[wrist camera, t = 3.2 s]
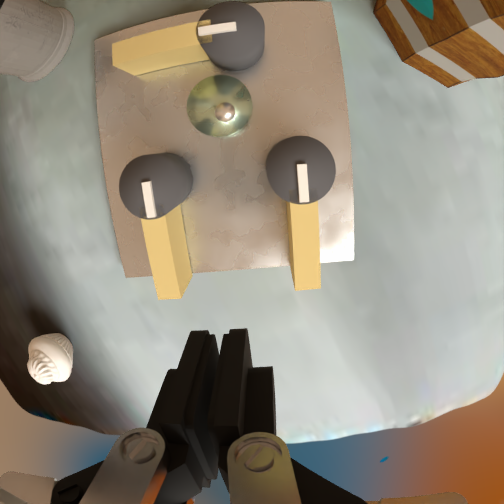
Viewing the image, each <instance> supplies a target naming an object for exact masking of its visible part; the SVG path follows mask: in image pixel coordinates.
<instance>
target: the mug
mask: <svg viewBox="0 0 504 504" xmlns="http://www.w3.org/2000/svg"><path fill="white" fill-rule="evenodd" d="M374 15H375V16H376V18H377V19H378V21H379V23H380V24H381V26H382V27H383V29H384V31H385V32H386V34H387V35H388V37H389V39H390V40H391V42H392V44H393V46H394V47H395V49H396V51H397V53H398V54H399V56H400V58H401V60H402V62H404V63H406V64H408V65H410V66H412V67H414V68H415V69H417V70H419V71H421V72H423V73H424V74H426V75H428V76H429V77H431V78H433V79H435V80H436V81H438V82H439V83H441V84H443V85H444V86H446V87H447V88H449V87H452V86H455V85H458V84H460V83H463V82H466V81H469V80H472V79H477V78H495V77H500V76H503V75H504V0H377V1H376V5H375V9H374Z"/></svg>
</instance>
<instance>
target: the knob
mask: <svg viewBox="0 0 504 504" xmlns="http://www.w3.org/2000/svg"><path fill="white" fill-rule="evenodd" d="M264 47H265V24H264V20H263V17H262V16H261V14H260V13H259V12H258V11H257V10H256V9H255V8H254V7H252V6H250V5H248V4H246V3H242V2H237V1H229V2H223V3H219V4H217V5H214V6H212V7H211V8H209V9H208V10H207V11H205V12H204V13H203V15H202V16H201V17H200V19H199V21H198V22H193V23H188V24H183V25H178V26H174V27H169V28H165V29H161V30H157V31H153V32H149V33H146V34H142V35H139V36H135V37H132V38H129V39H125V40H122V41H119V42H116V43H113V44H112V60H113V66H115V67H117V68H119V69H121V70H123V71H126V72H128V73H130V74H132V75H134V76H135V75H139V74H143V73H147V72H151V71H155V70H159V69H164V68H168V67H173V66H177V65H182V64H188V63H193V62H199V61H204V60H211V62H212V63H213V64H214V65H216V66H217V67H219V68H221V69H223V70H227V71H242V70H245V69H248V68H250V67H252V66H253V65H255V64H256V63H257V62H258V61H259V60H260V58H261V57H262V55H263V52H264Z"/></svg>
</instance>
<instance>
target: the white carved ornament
mask: <svg viewBox="0 0 504 504" xmlns="http://www.w3.org/2000/svg"><path fill="white" fill-rule="evenodd" d="M72 364H73V347H72V345H71V343H70V341H69V339H68V338H66V337H65V336H64V335H62V334H60V333H53V334H46V335H41V336H39V337H36V338H34V339H32V341H31V342H30V344H29V361H28V363H27V367H28V371H29V373H30V375H31V376H32V377H33V378H34V379H35V380H36V381H37V382H39V383H41V384H50V383H51V382H52V381H55V382H62V381H65V380H67V379H68V378H69V376H70V373H71V368H72Z"/></svg>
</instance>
